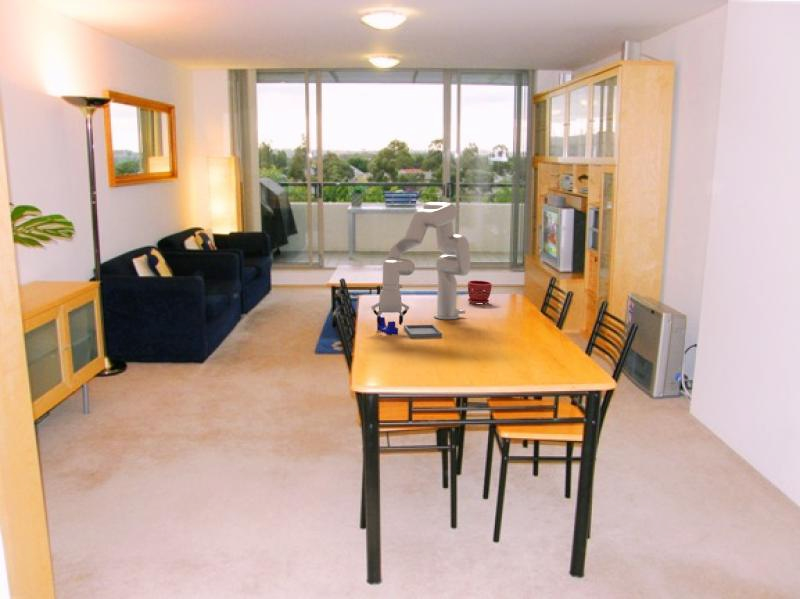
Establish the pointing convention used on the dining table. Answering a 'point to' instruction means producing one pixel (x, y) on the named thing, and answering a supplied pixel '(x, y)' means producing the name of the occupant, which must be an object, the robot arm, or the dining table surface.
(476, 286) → the plant pot
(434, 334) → the shallow rectangular tray
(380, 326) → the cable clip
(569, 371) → the dining table surface
